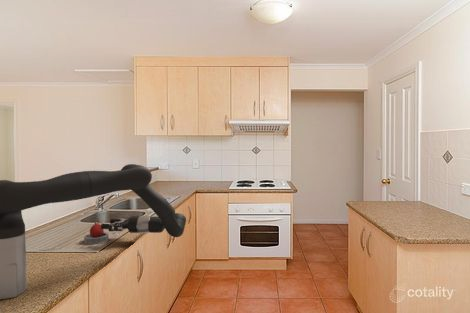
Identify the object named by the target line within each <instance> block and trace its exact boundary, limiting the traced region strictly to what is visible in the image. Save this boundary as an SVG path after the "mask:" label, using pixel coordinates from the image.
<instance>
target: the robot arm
mask: <svg viewBox="0 0 470 313" xmlns="http://www.w3.org/2000/svg"><path fill="white" fill-rule="evenodd" d="M152 175H153V174H152V172H151V171H150V169H149V168H147V167H146V166H144V165H141V164H140V165H139V164H135V163H134V164H133V163H129V164H126V165H123V167H121V169H120V170H116V171H115V170H84V171H83V170H82V171H77V172H69V173H65V174H61V175H58V176H55V177H52V178H49V179H43V180H35V181H12V180H7V179H1V180H0V300H5V299H11V298H16V297H18V296H19V295H20V294H23V293H24V292H26V291H27V289H28V284H27V283H28V282H27V281H28V278H27V275H28V274H27V246H26V243H27V242H26V224H25V222H24V218H23V214H22V211H24V210H27V209H28V210H29V209H32V208H35V207H39V206H43V205H48V204H56V203H57V204H58V203H64V202H71V201H77V200H79V201H80V200H84V199H87V198H88V199H89V198H93V197H98V196H103V195H106V194H107V195H108V194H110V193H115V192H120V191H121V192H122V191H130V190H131V191H132V192H133V193H134V194H136V195H137V196H138V197H139V198H140V199H142V201H143V202H144V203H146V205H147V206H148V207H149V209H151V210H152V211H153V212H154V213H155V215H156V216H149V215H131V216H130V217H121V218H111V219H110V220H109V222H110V223H101V224H100V225H101V229H103V230H108V231H109V232H123V230H126V229H127V230H128V232H129V233H131V234H148V233H150V234H151V233H152V234H153V233H155V234H156V233H157V234H160V233H161V234H162V232H163V231H166V233H167V234H168V235H170V236H171V237H172V238H179V237H182V235H183V234H184V231H185V227H186V224H187V217H186V216H185V214H182V213H180V212H179V213H178V212H176V211H175V209H174V207H173V206H172V205H171V203H170V202H169V201H168V200H167V199H166V198H165V197H164V196H163V195H162V194H160V193H159V192H158V191H157V190H155V188H153V187H152V186H151V185H150V184H151V181H152V179H153V178H152V177H153V176H152Z"/></svg>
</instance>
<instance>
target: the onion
mask: <svg viewBox="0 0 470 313" xmlns="http://www.w3.org/2000/svg"><path fill="white" fill-rule="evenodd" d="M104 230H105V229H101V224H100V223H99V222H97V221H96V222H95V223H94V224H93V225H92V226H90V228H89V234H90V235H91V236H92V237H93V238H97V237H101V236H102V235H103V232H105V231H104Z"/></svg>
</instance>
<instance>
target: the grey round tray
mask: <svg viewBox="0 0 470 313" xmlns="http://www.w3.org/2000/svg"><path fill="white" fill-rule="evenodd" d="M109 240H110V237H109V232H106V231H104V232H103V235H102V236H101V237H97V238H93V237H92V236H91V235H90V233H87V234H86V235H84V236H83V243H84V244H86V245H98V244H105V243H106V241H107V242H108V241H109Z"/></svg>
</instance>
